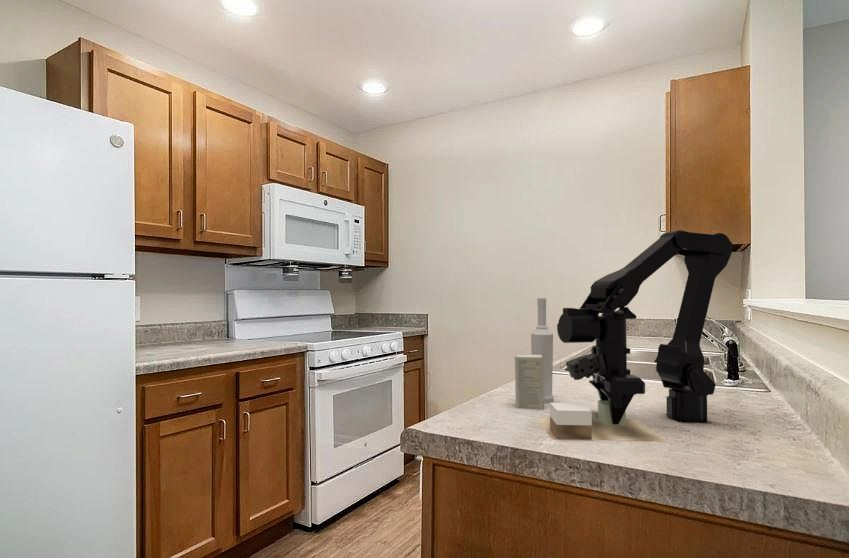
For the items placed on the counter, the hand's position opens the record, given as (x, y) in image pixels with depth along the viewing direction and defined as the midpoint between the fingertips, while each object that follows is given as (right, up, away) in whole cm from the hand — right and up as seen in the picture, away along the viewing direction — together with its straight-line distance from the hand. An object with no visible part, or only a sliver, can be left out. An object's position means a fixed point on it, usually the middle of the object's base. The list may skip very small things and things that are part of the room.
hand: (611, 421), depth 94 cm
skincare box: (-13, -2, +14) cm, 19 cm away
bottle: (-9, -2, +20) cm, 22 cm away
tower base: (-10, 0, -7) cm, 13 cm away
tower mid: (-10, +2, -7) cm, 13 cm away
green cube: (0, 0, 0) cm, 0 cm away
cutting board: (-4, -1, -4) cm, 6 cm away
